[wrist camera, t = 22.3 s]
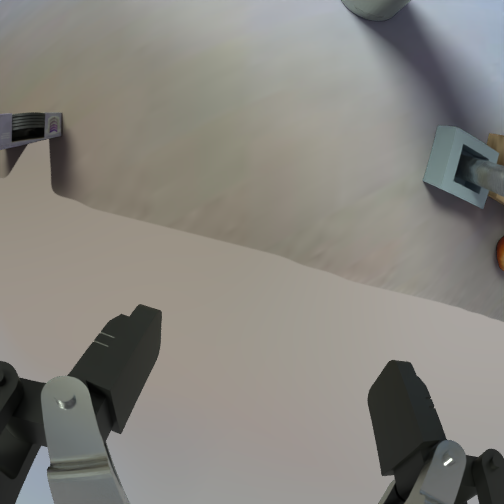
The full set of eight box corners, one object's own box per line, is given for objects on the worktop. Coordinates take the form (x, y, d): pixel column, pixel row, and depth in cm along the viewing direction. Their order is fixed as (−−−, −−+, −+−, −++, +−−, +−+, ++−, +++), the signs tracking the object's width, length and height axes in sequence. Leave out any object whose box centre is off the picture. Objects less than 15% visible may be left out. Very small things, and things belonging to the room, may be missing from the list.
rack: (437, 125, 33) (456, 126, 28) (479, 148, 33) (499, 153, 28) (422, 180, 37) (439, 188, 32) (464, 199, 37) (482, 209, 32)
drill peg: (450, 149, 33) (515, 166, 20) (467, 158, 34) (531, 179, 20) (444, 171, 35) (507, 197, 21) (460, 179, 35) (523, 208, 21)
